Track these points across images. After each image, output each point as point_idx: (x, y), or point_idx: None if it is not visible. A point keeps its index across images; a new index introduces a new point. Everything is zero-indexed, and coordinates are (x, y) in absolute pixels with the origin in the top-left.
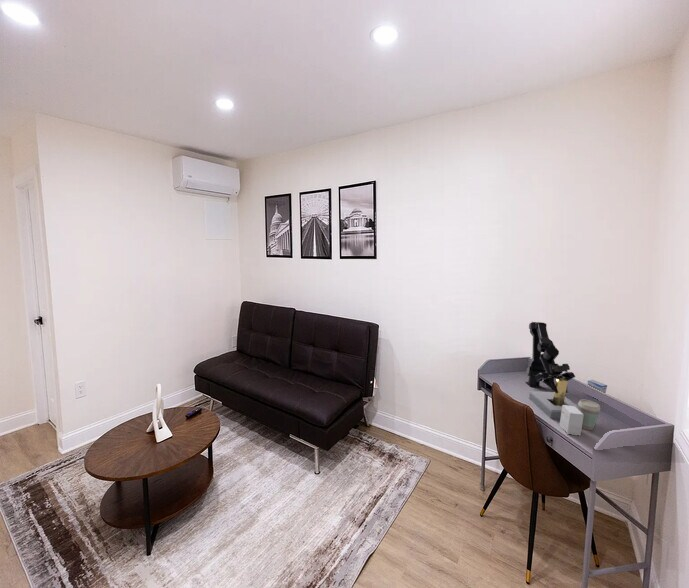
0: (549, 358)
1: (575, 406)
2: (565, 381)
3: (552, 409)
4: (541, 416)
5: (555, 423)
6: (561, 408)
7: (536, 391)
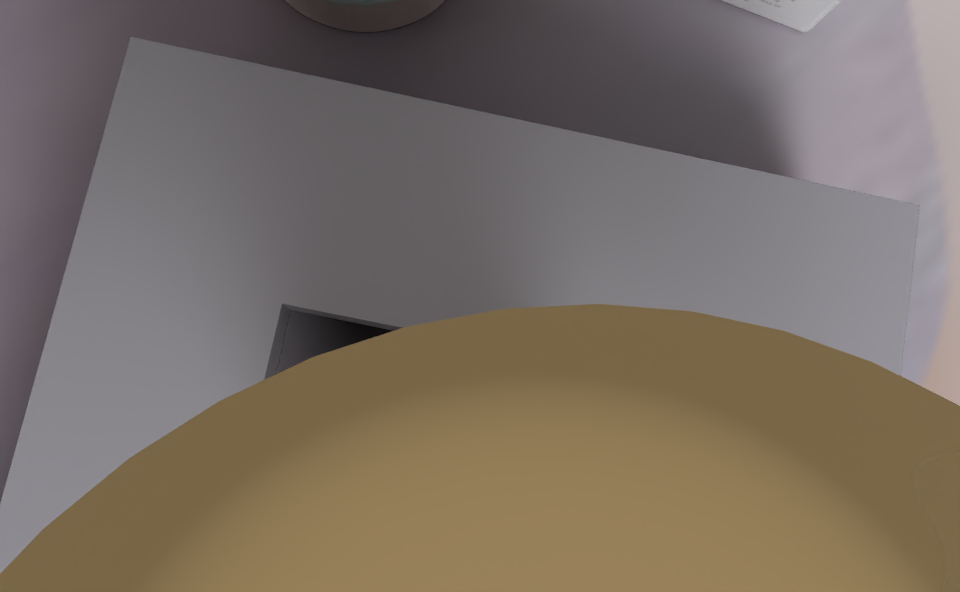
0: None
1: (143, 282)
2: (455, 525)
3: (883, 219)
4: (933, 330)
5: (838, 89)
6: (617, 236)
7: None
